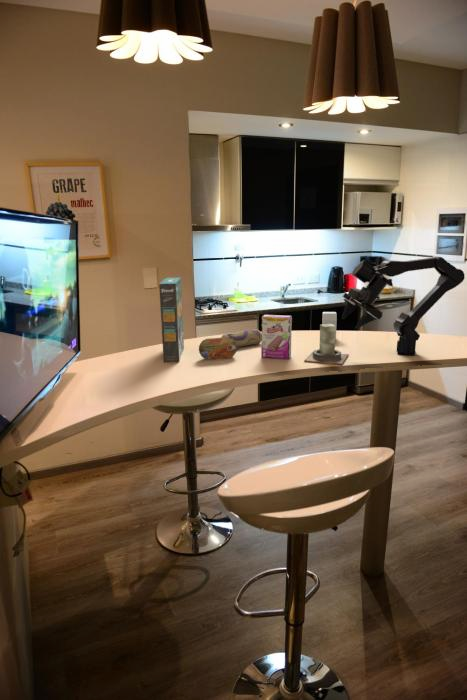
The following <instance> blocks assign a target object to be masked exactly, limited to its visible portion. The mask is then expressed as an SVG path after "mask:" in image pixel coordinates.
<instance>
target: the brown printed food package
mask: <svg viewBox="0 0 467 700" xmlns="http://www.w3.org/2000/svg"><path fill="white" fill-rule="evenodd" d="M237 351H238V348H237V344H236V342H235V340H233V339H232V338H229V337H222V336H220V337H210V338H205V339H203V340H202V341H201V342H200V343H199V346H198V352H199V354H200V356H201V357H202V359H204V360H206V361H215V360H224V359H226V360H227V359H230V358H232V357H233V358H234V356H235V354H236V353H237Z"/></svg>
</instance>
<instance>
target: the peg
mask: <svg viewBox="0 0 467 700" xmlns="http://www.w3.org/2000/svg"><path fill="white" fill-rule="evenodd" d="M335 329H336V330H337V325H336V326H334V325H332V324H319V348H318V349H319V354H322V355H334V354H335V350H336V339H335Z"/></svg>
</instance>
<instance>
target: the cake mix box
mask: <svg viewBox="0 0 467 700" xmlns="http://www.w3.org/2000/svg"><path fill="white" fill-rule="evenodd" d="M158 287H159V301H160V303H159V304H160V321H161V322H160V323H161V337H162V355H163V356H162V358H163V363H180V361H181V358H182V356H183V352H184V349H185V341H184V339H185V338H184V320H183V318H184V315H183V314H184V313H183V295H182V277H165V278H163V280H162V281H160V282H159V284H158Z"/></svg>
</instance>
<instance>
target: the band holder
mask: <svg viewBox="0 0 467 700" xmlns="http://www.w3.org/2000/svg"><path fill="white" fill-rule="evenodd" d="M348 357H349V354H348V353H342V352H341V351H340V350H338V349H335V354H334V355H322V354H319V348H318V349H314V350H313V351H312V352H311V353H310V354H309V355H308V356H307V357H306V358H305V359H304V360H303V362H304V363H314V364H325V365H334V366H335V365H337V366H343V365H344V363H345V361H346V360H347V358H348Z"/></svg>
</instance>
